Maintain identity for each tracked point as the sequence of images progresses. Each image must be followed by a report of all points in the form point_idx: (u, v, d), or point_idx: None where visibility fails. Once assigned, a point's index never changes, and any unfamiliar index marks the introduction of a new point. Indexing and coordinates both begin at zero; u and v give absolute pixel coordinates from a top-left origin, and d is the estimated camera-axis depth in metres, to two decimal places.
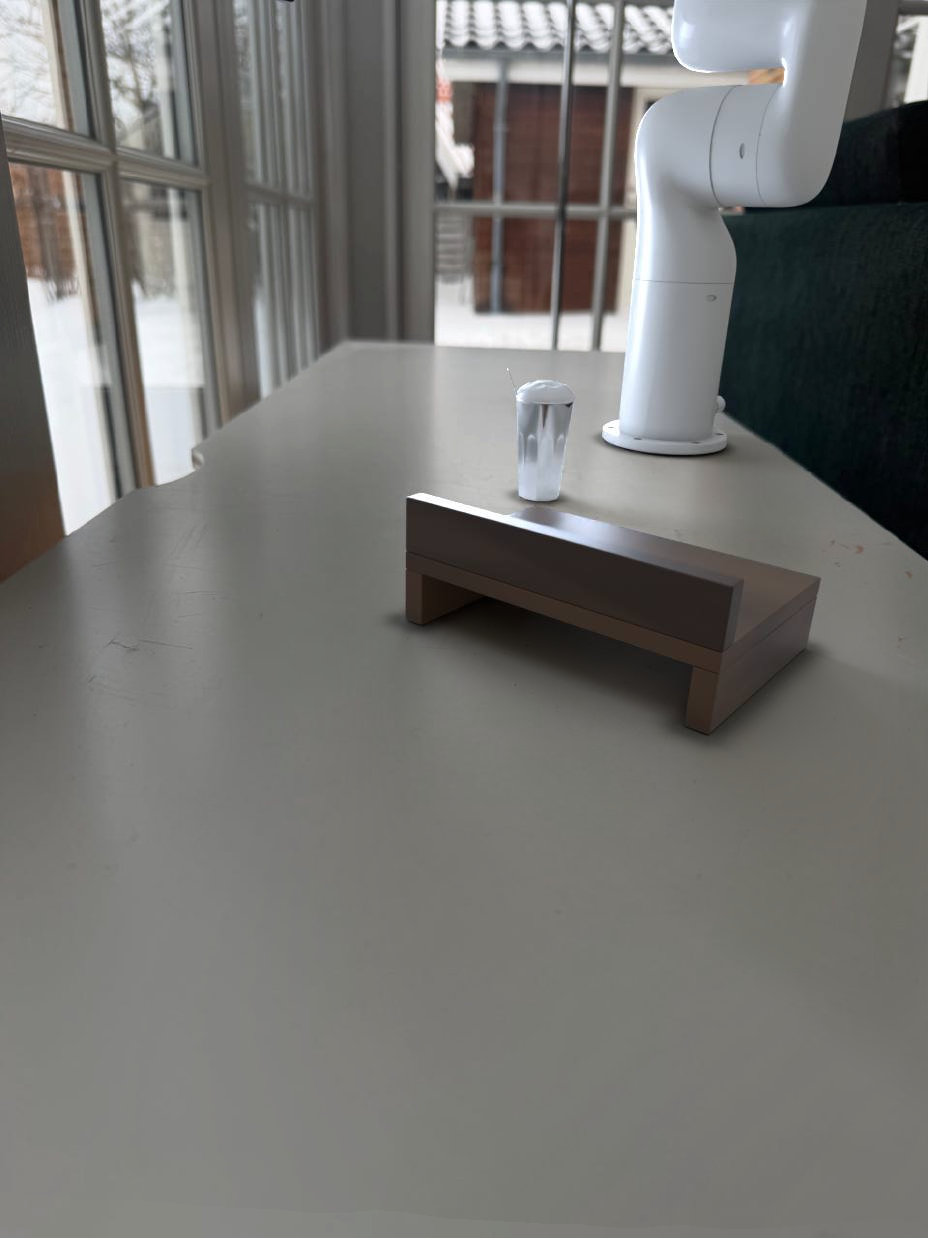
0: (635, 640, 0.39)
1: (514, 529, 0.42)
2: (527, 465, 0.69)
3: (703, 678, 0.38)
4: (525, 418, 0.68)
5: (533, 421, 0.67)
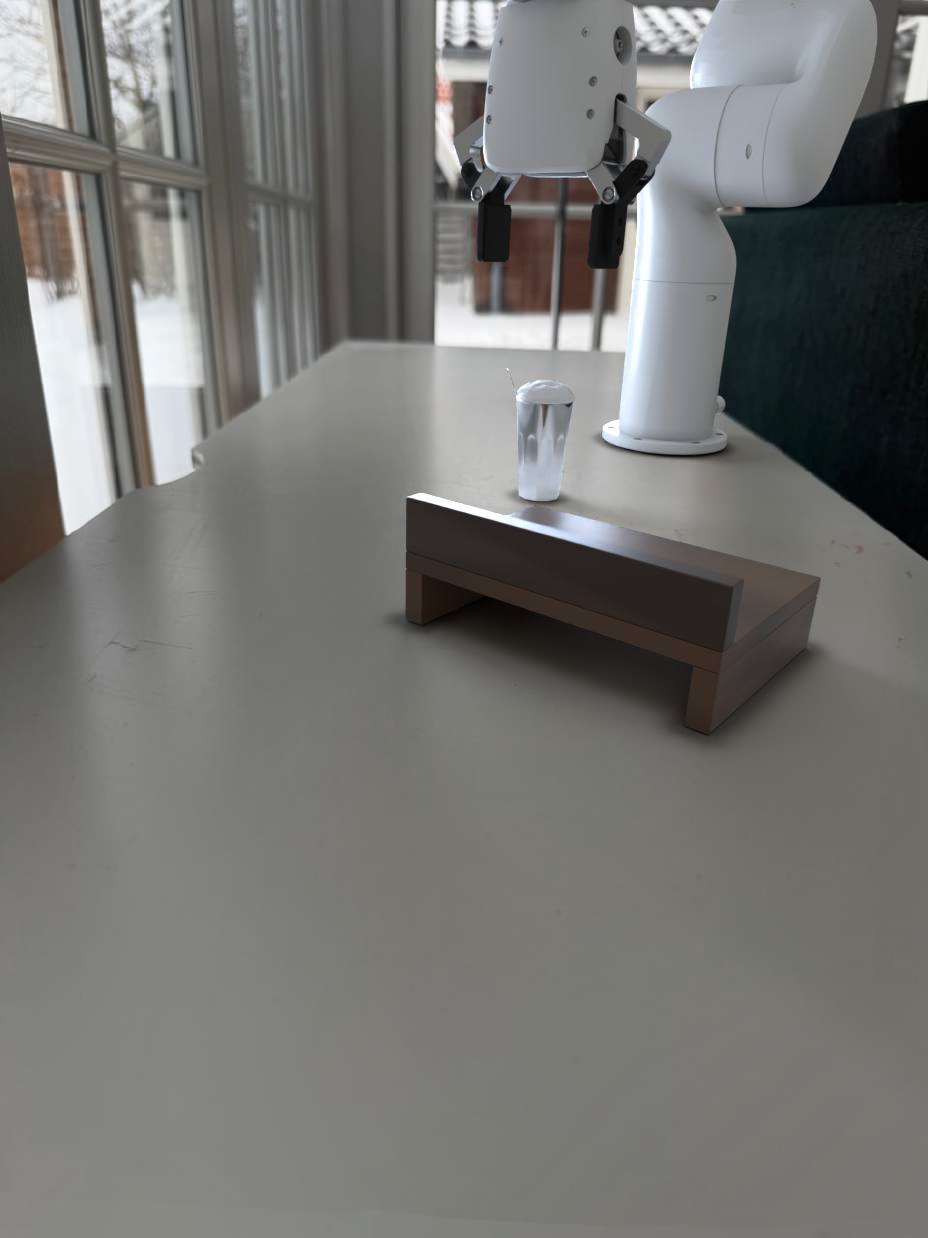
0: (635, 640, 0.39)
1: (514, 529, 0.42)
2: (527, 466, 0.69)
3: (703, 678, 0.38)
4: (525, 418, 0.68)
5: (533, 421, 0.67)
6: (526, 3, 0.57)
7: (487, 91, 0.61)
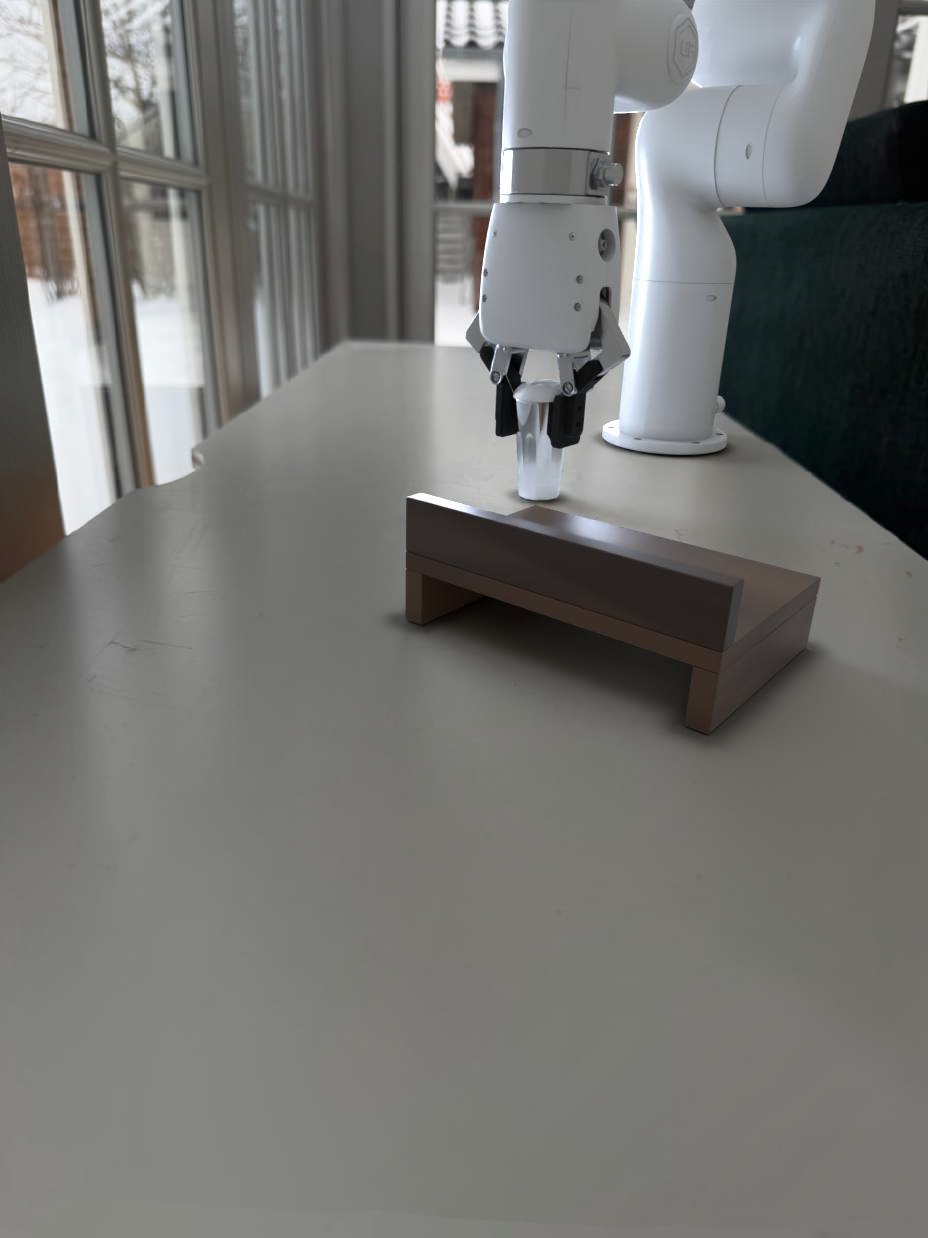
0: (635, 640, 0.39)
1: (514, 529, 0.42)
2: (526, 465, 0.69)
3: (703, 678, 0.38)
4: (522, 417, 0.68)
5: (530, 420, 0.67)
6: (517, 205, 0.62)
7: (483, 273, 0.66)
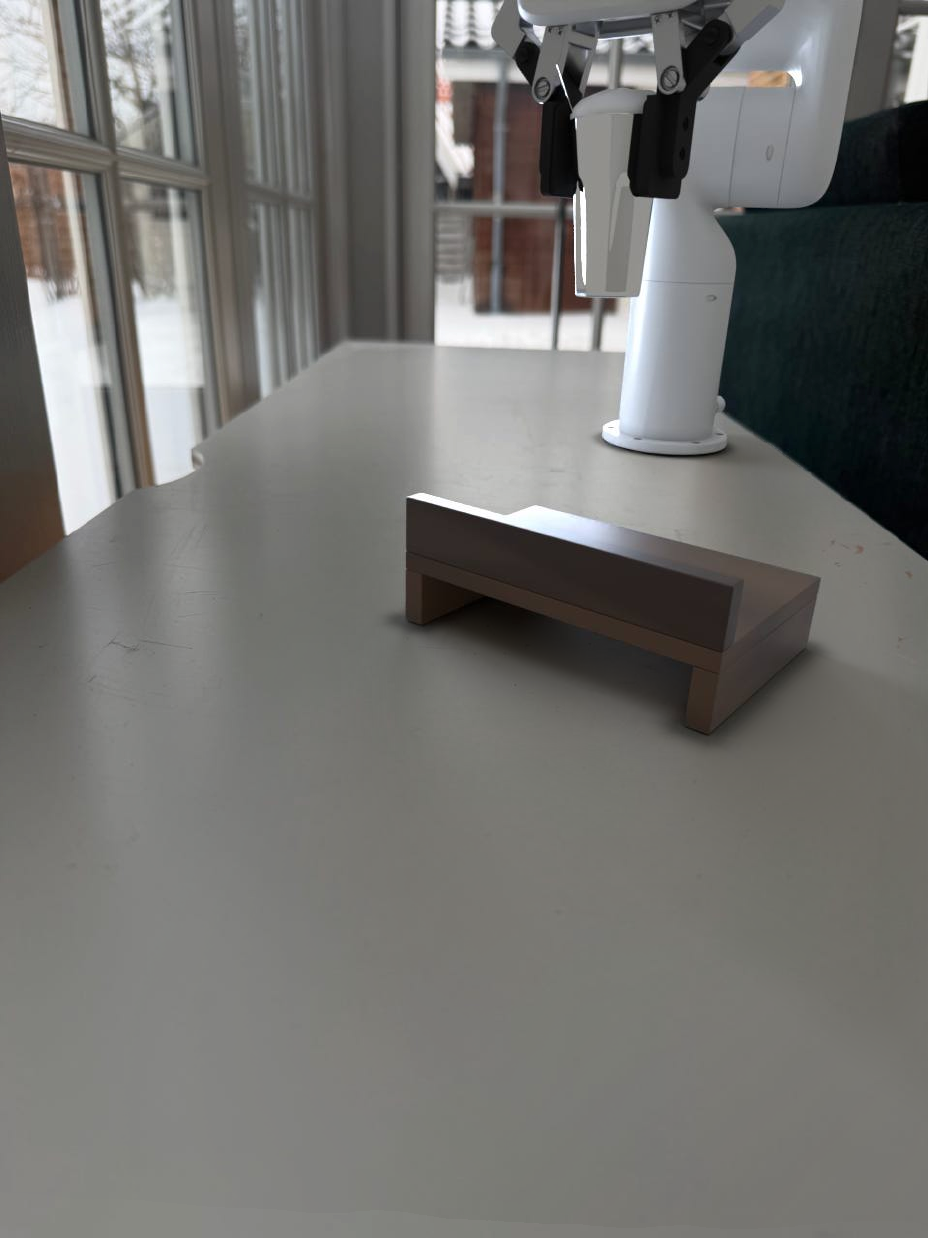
0: (635, 640, 0.39)
1: (514, 529, 0.42)
2: (591, 235, 0.42)
3: (703, 678, 0.38)
4: (587, 147, 0.41)
5: (601, 149, 0.40)
6: None
7: None
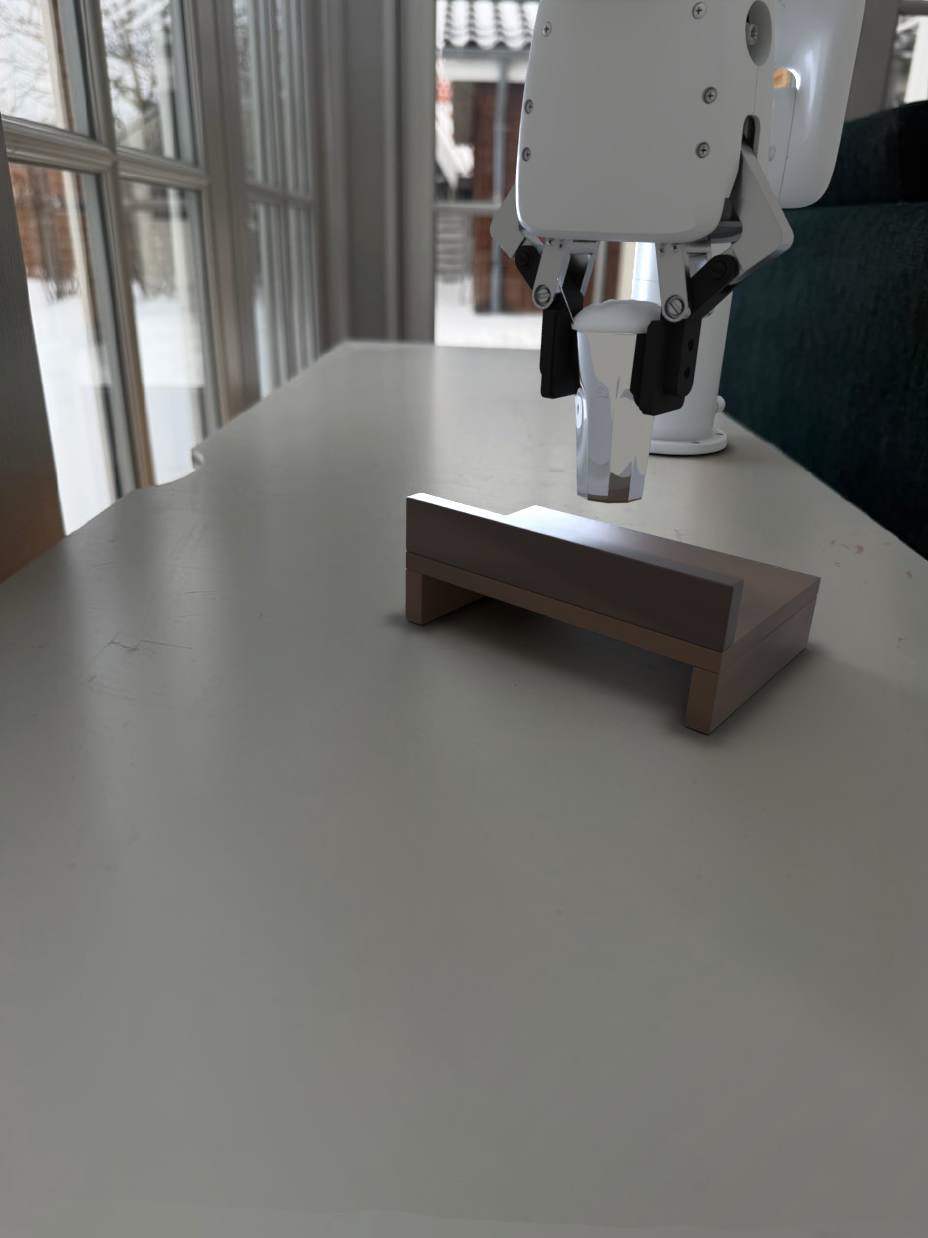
0: (635, 640, 0.39)
1: (514, 529, 0.42)
2: (593, 444, 0.41)
3: (703, 678, 0.38)
4: (589, 362, 0.40)
5: (604, 366, 0.39)
6: None
7: (523, 109, 0.38)
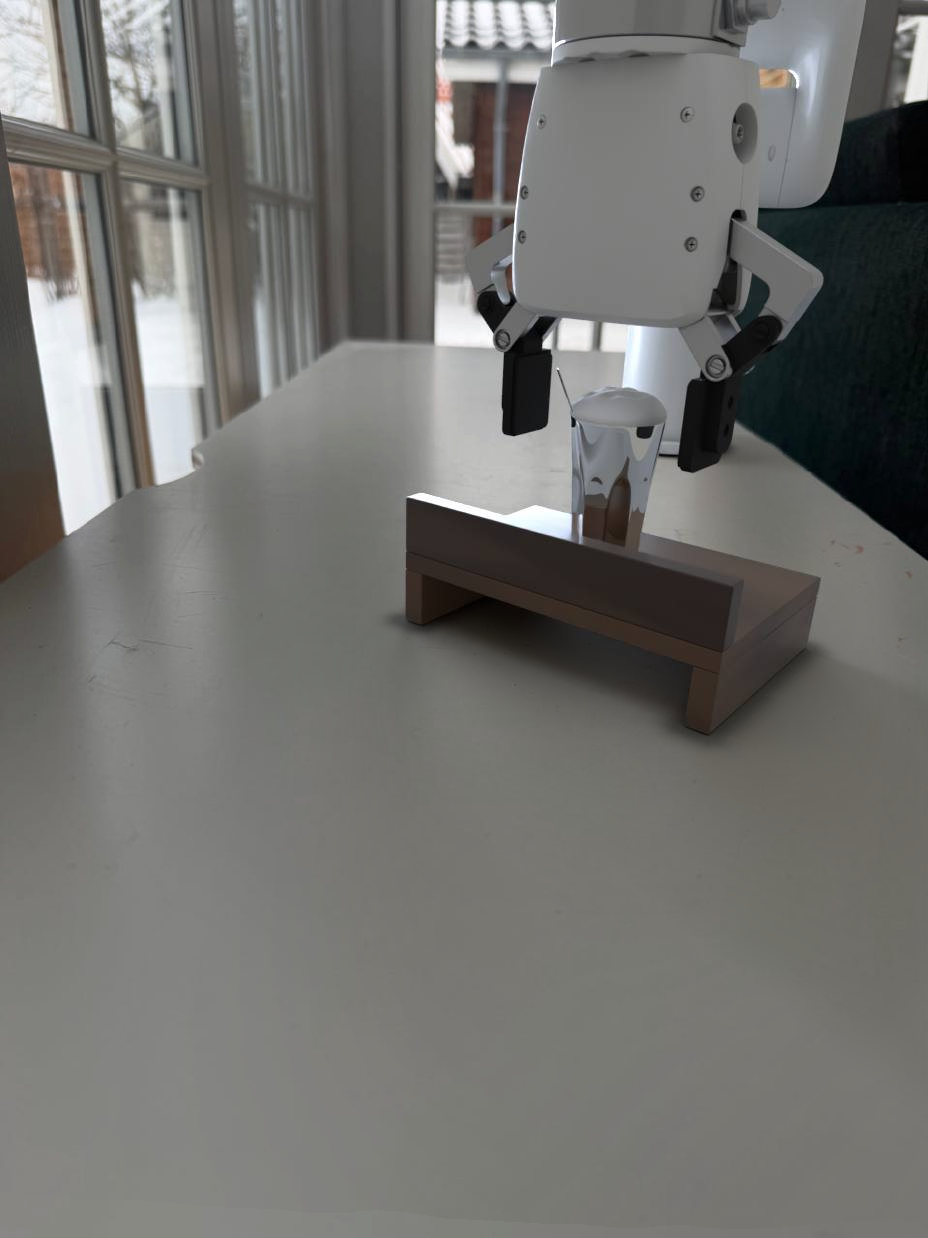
0: (635, 640, 0.39)
1: (514, 529, 0.42)
2: (588, 525, 0.43)
3: (703, 678, 0.38)
4: (586, 450, 0.41)
5: (600, 455, 0.41)
6: (584, 64, 0.35)
7: (519, 194, 0.39)
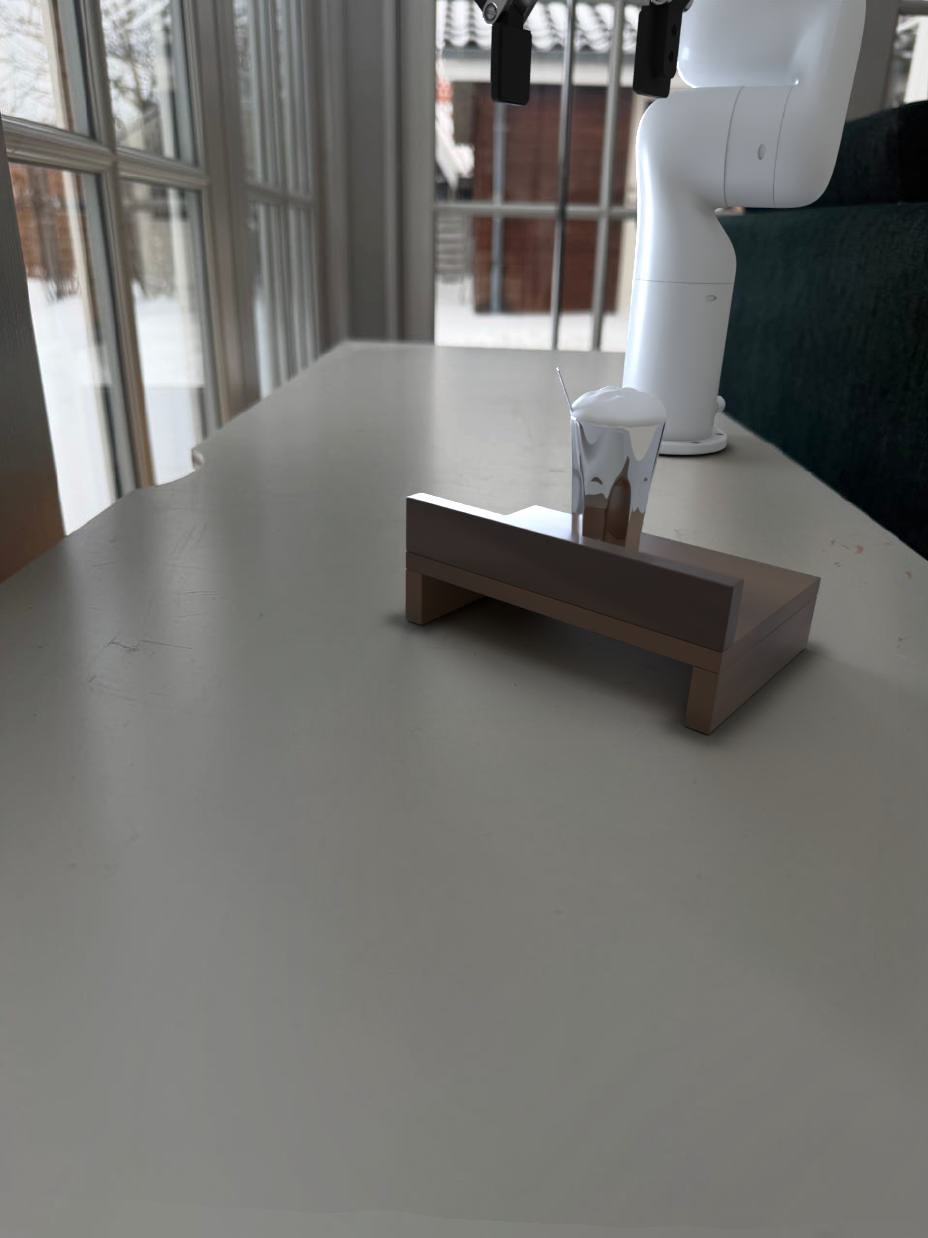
0: (635, 640, 0.39)
1: (514, 529, 0.42)
2: (588, 525, 0.43)
3: (703, 678, 0.38)
4: (586, 450, 0.41)
5: (600, 455, 0.41)
6: None
7: None
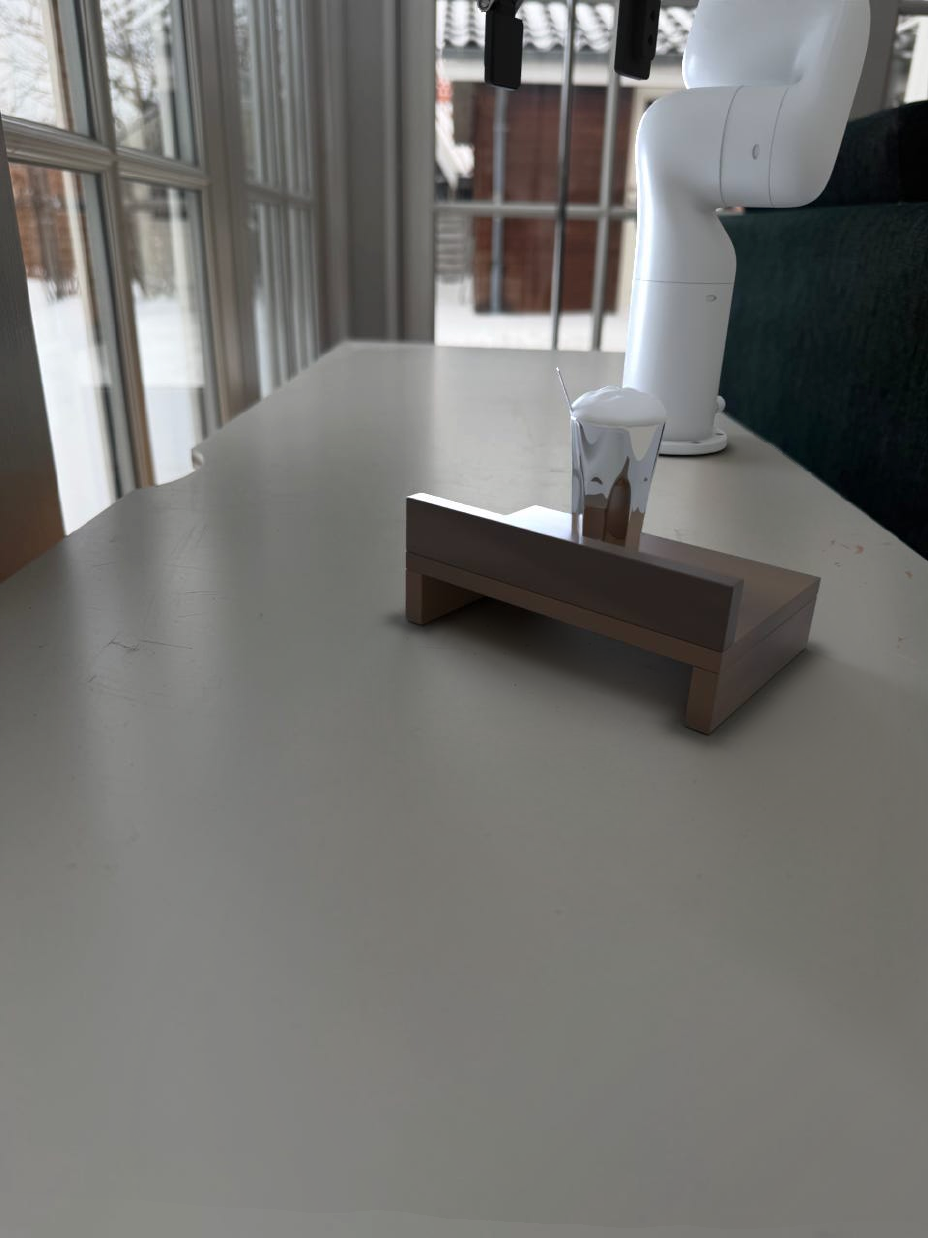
0: (635, 640, 0.39)
1: (514, 529, 0.42)
2: (588, 525, 0.43)
3: (703, 678, 0.38)
4: (586, 450, 0.41)
5: (600, 455, 0.41)
6: None
7: None
